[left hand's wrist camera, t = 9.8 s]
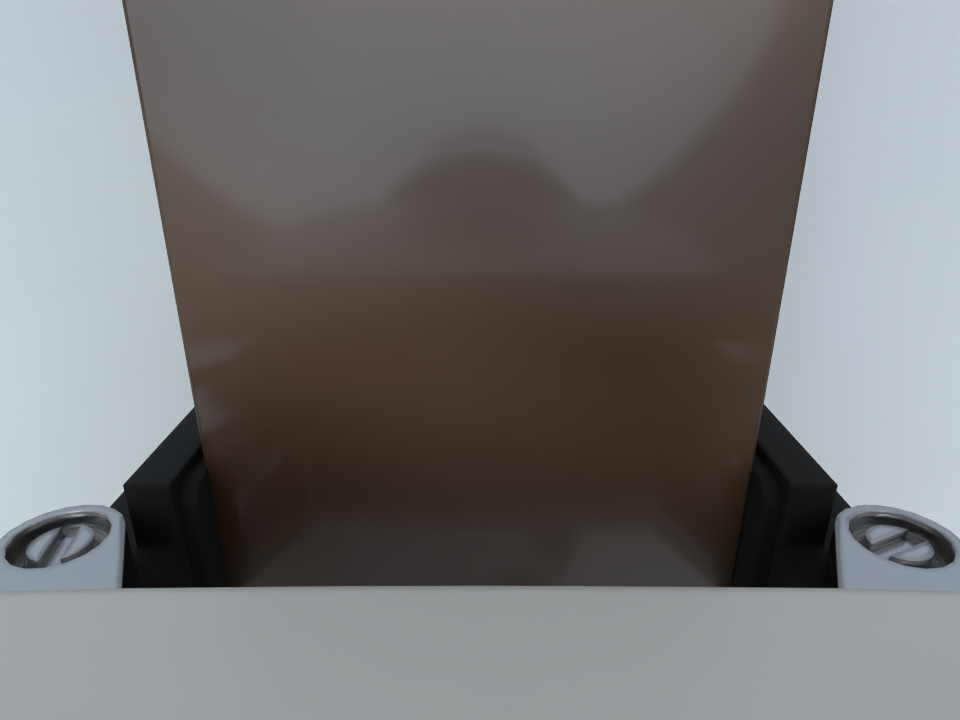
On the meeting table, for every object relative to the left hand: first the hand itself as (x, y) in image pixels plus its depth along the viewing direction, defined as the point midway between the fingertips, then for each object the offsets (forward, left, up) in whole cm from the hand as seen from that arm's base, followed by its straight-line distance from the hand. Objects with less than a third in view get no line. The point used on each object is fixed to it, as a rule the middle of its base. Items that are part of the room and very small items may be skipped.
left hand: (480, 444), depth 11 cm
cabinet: (+5, -2, -7) cm, 9 cm away
